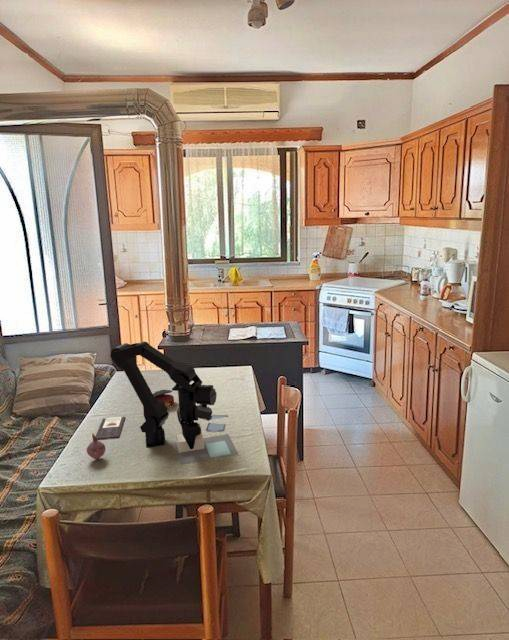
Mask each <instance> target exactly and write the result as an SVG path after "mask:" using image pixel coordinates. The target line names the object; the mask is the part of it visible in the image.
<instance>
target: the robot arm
mask: <svg viewBox="0 0 509 640" xmlns="http://www.w3.org/2000/svg"><path fill="white" fill-rule="evenodd" d="M109 355H110V359H111V360H112V362H113V363H114V365H115V366H116V367H117V368H119V369H120V370H121V371H123V372H124V374H125V375H126V378H127V379H128V381H129V383H130V384H131V386H132V388H133V390H134V392H135V394H136V397H138V400H139V401H140V403H141V404H142V409H143V418H144V419H145V420H144V422H143V423H142V425H140V426H139V428H140V430H141V432H142V433H145V436H144V437H145V447H146V448H153V447H159V446H164V445H165V442H166V433H165V432H166V431H165V428H163V425H165V423H166V421H167V420H168V418H169V415H170V414H169V408H167V407H166V406H165V403H164V401H161V402H159V401H157V400H156V399H155V396H153V394H154V393H153V392H152V390H151V388H150V387H149V385H148V383H147V381H146V379H145V377H144V376H143V374H142V372H141V370H140V368H139V367H138V364H137V361H138V360H137V358H138V357H137V356H140V357H142V358H143V359H145V360H147V361H149V363H151V364H153V365H154V366H155V367H158V368H159V369H160V370H162V371H164V372H165V373H166V374H167V375H168V377H169V378H170V380H171V381H172V382H173V383H175V385H174V386H173V387H172V388H171V391H172V392H173V391H175V392H177V395H178V397H177V398H178V403H177V404H178V409H177V410H176V416H177V420H178V423H179V424H180V427H181V434H183V437H184V438H185V440H186V442H187V444H188V446H189V448H190V449H193V448H194V444H195V439H196V436H197V435H200V434H201V433H202V426H201V425H200V423H199V422H195V421H199V419H201V420H205V421H211V420H212V419H211V416H212V415H213V410H212V408H210V406H214V405H215V404H216V401H217V391H216V389H215V388H214V385H212V384H208V385H207V384H203V381H202V380H201V378H200V377H199V376H198V374H197V373H196V370H195V368H194V367H193V366H191V365H189V364H187V363H185V362H180V361H176V360H174V359H172V358H171V357H169V356H167V355H166V354H165V353H163V352H161V351H160V350H159V349H156V348H154V347H153V346H152V345H150V344H149V343H148V342H147V341H141V342H136V343H135V342H134V343H132V344H129V343H127V342H126V343H123V344H120V345H117V346H116V347H114V348H113V349H112V350H111V351H110V354H109ZM190 383H191V384H190ZM210 419H211V420H210Z"/></svg>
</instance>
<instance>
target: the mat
mask: <svg viewBox="0 0 509 640" xmlns="http://www.w3.org/2000/svg"><path fill="white" fill-rule="evenodd" d="M203 438H204V449H199V450H193V451H187V452H181V453H179V451H178V447H177V441H176V442H174V444H175V449H176V452H177V457H178V460H179V461H178V462H179V464H180V465H187V464H191V463H196V462H197V463H198V462H203V461H208V460H214V459H220V458H226V457H230V456H231V457H232V456H237V455H239V452H238V451H237V448H236V446H235V445H234V443H233V441H232V439H231V437H230V435H229V433H228V434H220V435H214V436H209V437H208V436H207V437H203Z"/></svg>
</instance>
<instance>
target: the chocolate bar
mask: <svg viewBox="0 0 509 640" xmlns="http://www.w3.org/2000/svg"><path fill="white" fill-rule="evenodd" d="M125 420H126V416H118V417H117V416H116V417H108V418H102V420H101V422H100V424H99V427H98V430H97V432H96V433H95V434H96V435H95V437H96V439H101V440H108V439H107V438H112V439H119V438H120V436H121V433H122V429H123V427H124V424H125ZM123 423H124V424H123ZM122 426H123V427H122Z"/></svg>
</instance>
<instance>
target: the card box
mask: <svg viewBox="0 0 509 640" xmlns="http://www.w3.org/2000/svg"><path fill="white" fill-rule="evenodd" d="M175 438H176V442H177V447H178V451H179V453H181V452H187V451H193V450H199V449H204V438H205V437H204V436H203V433H202V432H201V434H200V435H197V436H196V439H195V444H194V448H193V449H190V448H189V446H188V444H187V442H186V440H185V438H184V437H183V434H182V433H179V434H176V435H175Z"/></svg>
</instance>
